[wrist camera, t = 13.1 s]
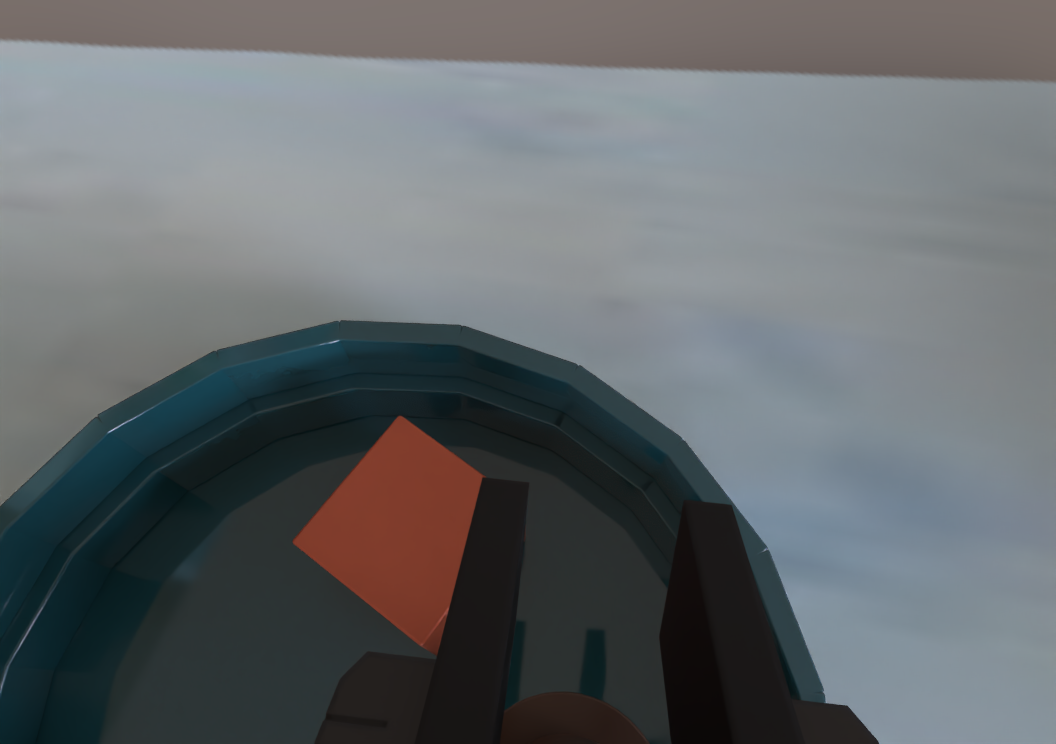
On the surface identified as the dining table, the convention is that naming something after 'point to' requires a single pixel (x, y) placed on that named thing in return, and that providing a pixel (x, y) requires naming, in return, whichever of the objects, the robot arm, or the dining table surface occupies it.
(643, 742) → the pestle
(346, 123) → the dining table surface
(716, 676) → the robot arm
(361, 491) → the terracotta block
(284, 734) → the bowl
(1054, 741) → the dining table surface
